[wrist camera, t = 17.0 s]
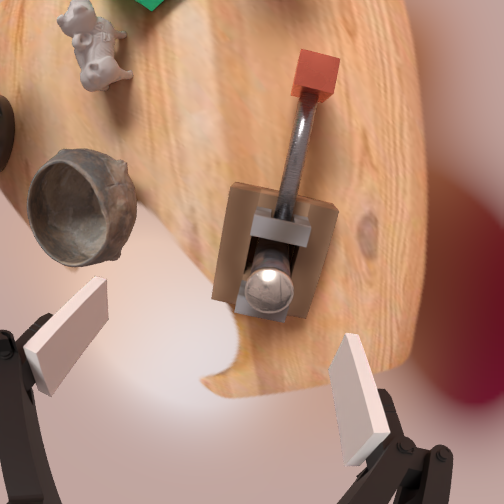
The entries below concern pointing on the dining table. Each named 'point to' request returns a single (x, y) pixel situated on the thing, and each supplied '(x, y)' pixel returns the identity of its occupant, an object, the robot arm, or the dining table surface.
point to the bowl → (82, 207)
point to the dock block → (265, 226)
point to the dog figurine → (93, 45)
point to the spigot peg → (270, 277)
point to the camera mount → (150, 3)
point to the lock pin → (304, 121)
